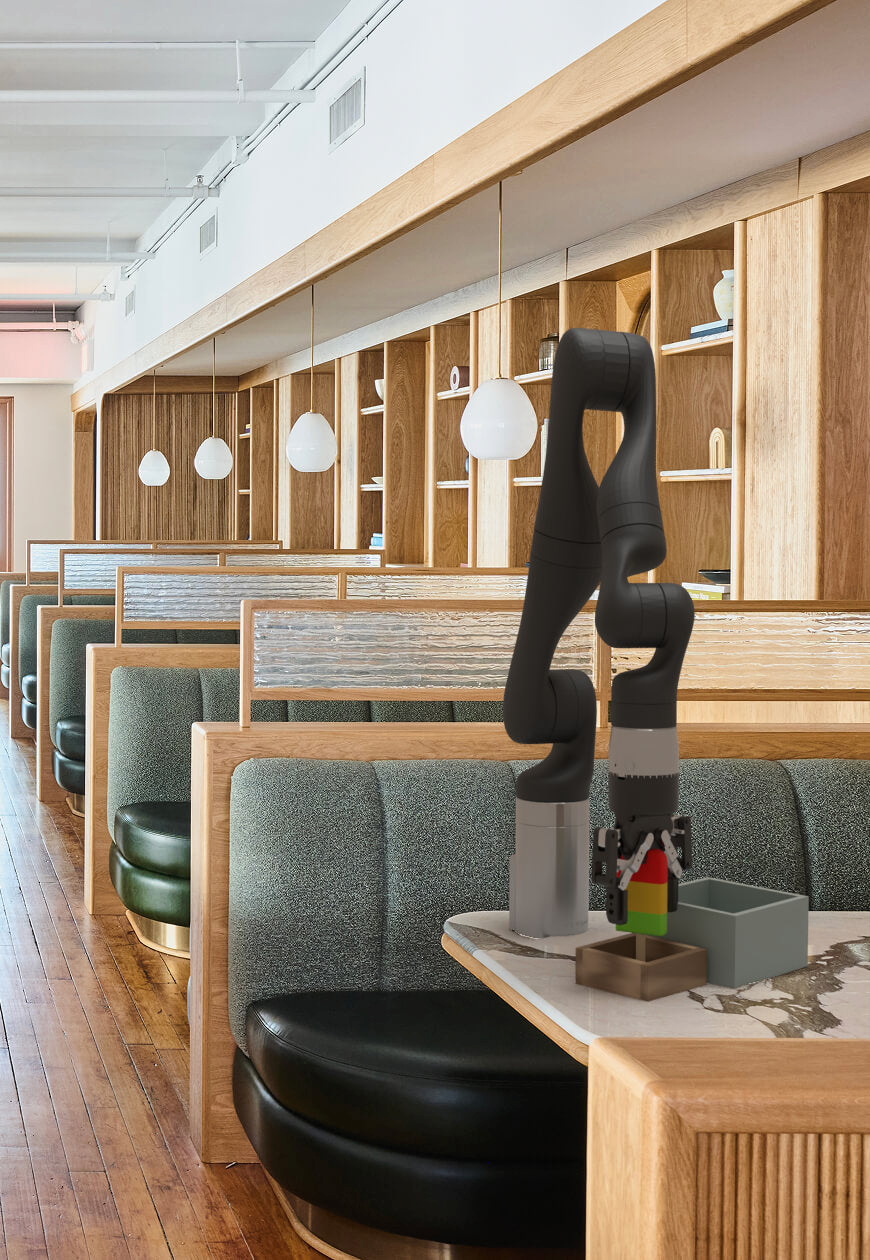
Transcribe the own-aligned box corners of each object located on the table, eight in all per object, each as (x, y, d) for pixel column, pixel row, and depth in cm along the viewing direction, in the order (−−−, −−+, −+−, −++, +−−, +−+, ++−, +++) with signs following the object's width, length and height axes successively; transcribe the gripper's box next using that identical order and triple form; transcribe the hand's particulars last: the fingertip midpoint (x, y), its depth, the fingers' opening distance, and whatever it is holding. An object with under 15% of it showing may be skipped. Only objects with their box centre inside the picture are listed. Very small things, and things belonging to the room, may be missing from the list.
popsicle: (614, 846, 161) (621, 843, 162) (613, 983, 161) (619, 979, 163) (663, 851, 158) (669, 848, 160) (661, 990, 158) (667, 986, 160)
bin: (632, 963, 169) (633, 894, 169) (707, 942, 179) (707, 877, 178) (734, 989, 159) (735, 916, 159) (807, 966, 169) (808, 896, 168)
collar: (575, 984, 161) (575, 947, 161) (634, 967, 168) (634, 932, 168) (647, 1004, 154) (648, 966, 153) (706, 985, 160) (706, 949, 160)
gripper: (657, 759, 167) (656, 902, 168) (573, 770, 158) (572, 922, 158) (711, 765, 162) (710, 913, 162) (628, 777, 152) (627, 934, 153)
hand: (642, 917), depth 160 cm, fingers open, 8 cm apart
